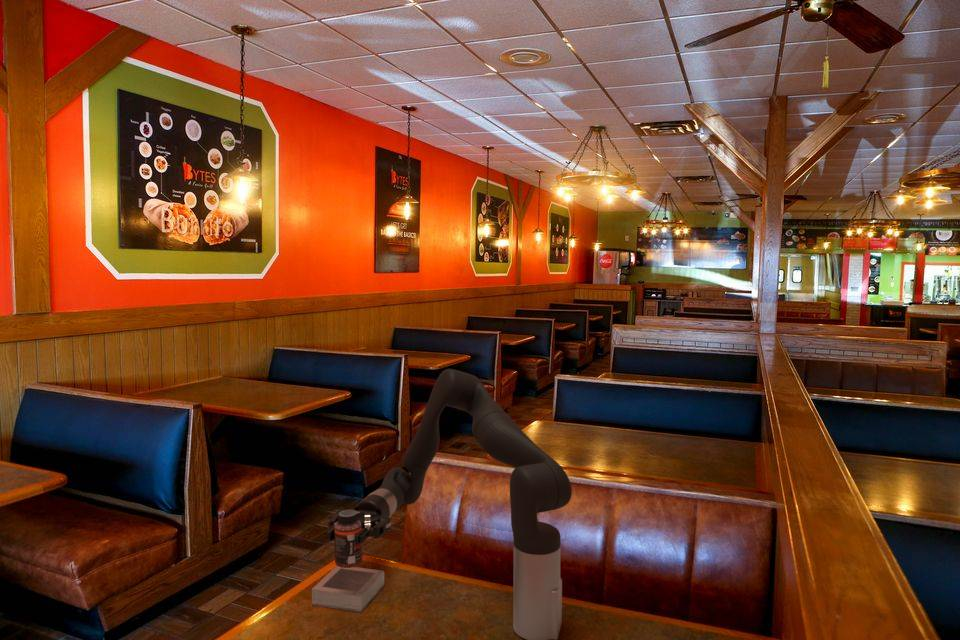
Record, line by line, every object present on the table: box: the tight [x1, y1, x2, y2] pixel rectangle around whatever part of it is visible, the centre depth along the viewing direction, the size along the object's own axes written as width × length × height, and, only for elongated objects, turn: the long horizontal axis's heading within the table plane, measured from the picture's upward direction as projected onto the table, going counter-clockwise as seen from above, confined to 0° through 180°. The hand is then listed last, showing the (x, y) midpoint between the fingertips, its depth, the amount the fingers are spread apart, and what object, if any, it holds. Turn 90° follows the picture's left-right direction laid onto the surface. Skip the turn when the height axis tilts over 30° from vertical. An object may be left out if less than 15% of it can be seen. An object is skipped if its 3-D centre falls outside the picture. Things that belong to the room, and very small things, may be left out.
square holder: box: [311, 565, 385, 613], centre depth 139 cm, size 12×12×4 cm
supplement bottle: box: [333, 509, 363, 568], centre depth 138 cm, size 6×6×11 cm
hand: (342, 538), depth 136 cm, fingers closed on supplement bottle, 6 cm apart
